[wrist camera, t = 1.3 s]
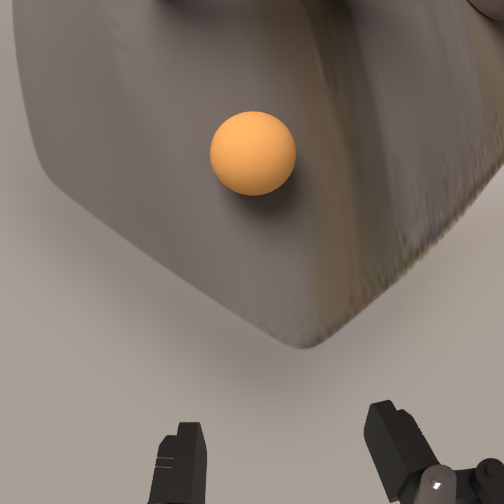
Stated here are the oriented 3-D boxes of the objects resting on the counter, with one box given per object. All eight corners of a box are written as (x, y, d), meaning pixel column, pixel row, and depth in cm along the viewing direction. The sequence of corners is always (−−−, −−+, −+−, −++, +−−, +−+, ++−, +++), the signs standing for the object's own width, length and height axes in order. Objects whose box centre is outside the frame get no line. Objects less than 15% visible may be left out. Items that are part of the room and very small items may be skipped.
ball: (210, 119, 21) (203, 108, 16) (286, 115, 22) (301, 104, 16) (215, 192, 23) (210, 204, 18) (289, 188, 23) (305, 199, 18)
